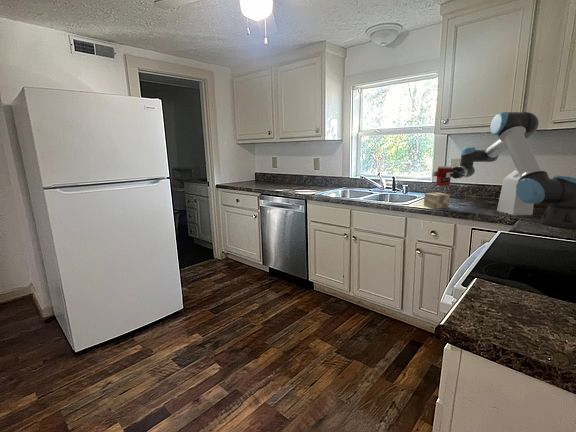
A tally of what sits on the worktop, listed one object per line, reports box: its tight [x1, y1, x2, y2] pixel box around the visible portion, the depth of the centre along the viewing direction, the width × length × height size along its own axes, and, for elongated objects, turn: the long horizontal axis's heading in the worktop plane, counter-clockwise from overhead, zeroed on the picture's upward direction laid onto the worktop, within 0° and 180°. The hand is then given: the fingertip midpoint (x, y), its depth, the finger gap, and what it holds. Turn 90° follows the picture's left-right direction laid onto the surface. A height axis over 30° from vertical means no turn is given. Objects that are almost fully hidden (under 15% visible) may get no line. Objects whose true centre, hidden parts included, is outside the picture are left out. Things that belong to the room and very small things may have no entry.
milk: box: [496, 167, 535, 216], centre depth 175 cm, size 12×12×26 cm
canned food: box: [435, 165, 453, 187], centre depth 193 cm, size 8×8×11 cm
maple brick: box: [423, 192, 451, 209], centre depth 196 cm, size 10×10×8 cm
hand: (439, 174), depth 190 cm, fingers closed on canned food, 8 cm apart
